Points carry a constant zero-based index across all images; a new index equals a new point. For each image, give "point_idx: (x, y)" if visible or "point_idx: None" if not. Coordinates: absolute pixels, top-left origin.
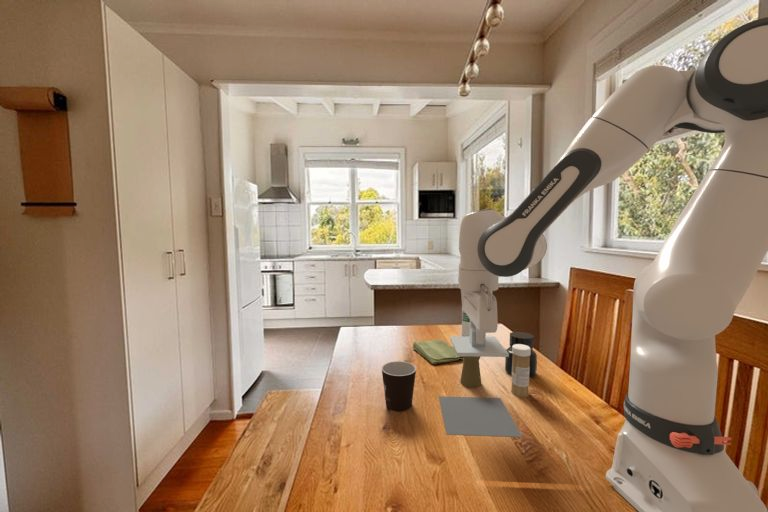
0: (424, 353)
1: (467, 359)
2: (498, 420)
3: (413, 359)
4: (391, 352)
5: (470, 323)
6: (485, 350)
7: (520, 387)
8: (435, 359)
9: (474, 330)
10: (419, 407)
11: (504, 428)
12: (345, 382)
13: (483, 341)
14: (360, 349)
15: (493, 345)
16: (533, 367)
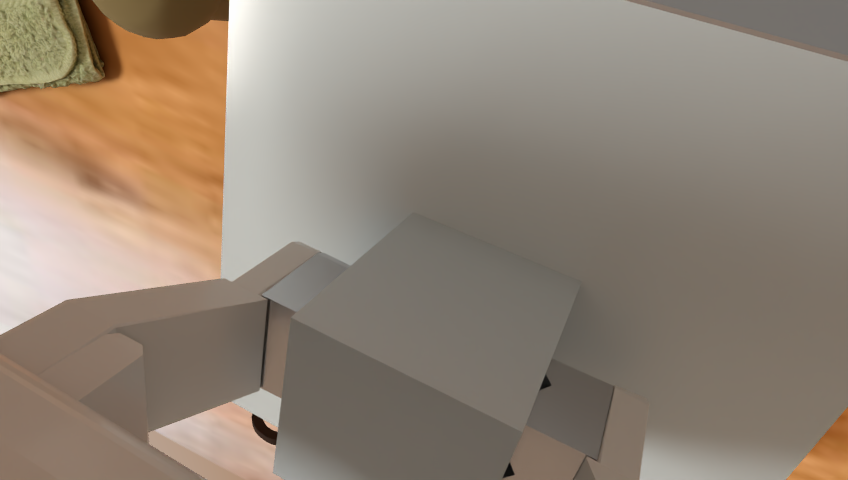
0: (23, 86)
1: (211, 15)
2: (711, 9)
3: (68, 141)
4: (23, 206)
5: (158, 418)
6: (724, 375)
7: None
8: (75, 58)
9: None
10: None
11: (803, 18)
12: (260, 449)
13: (641, 428)
14: (23, 308)
15: (582, 149)
16: None
